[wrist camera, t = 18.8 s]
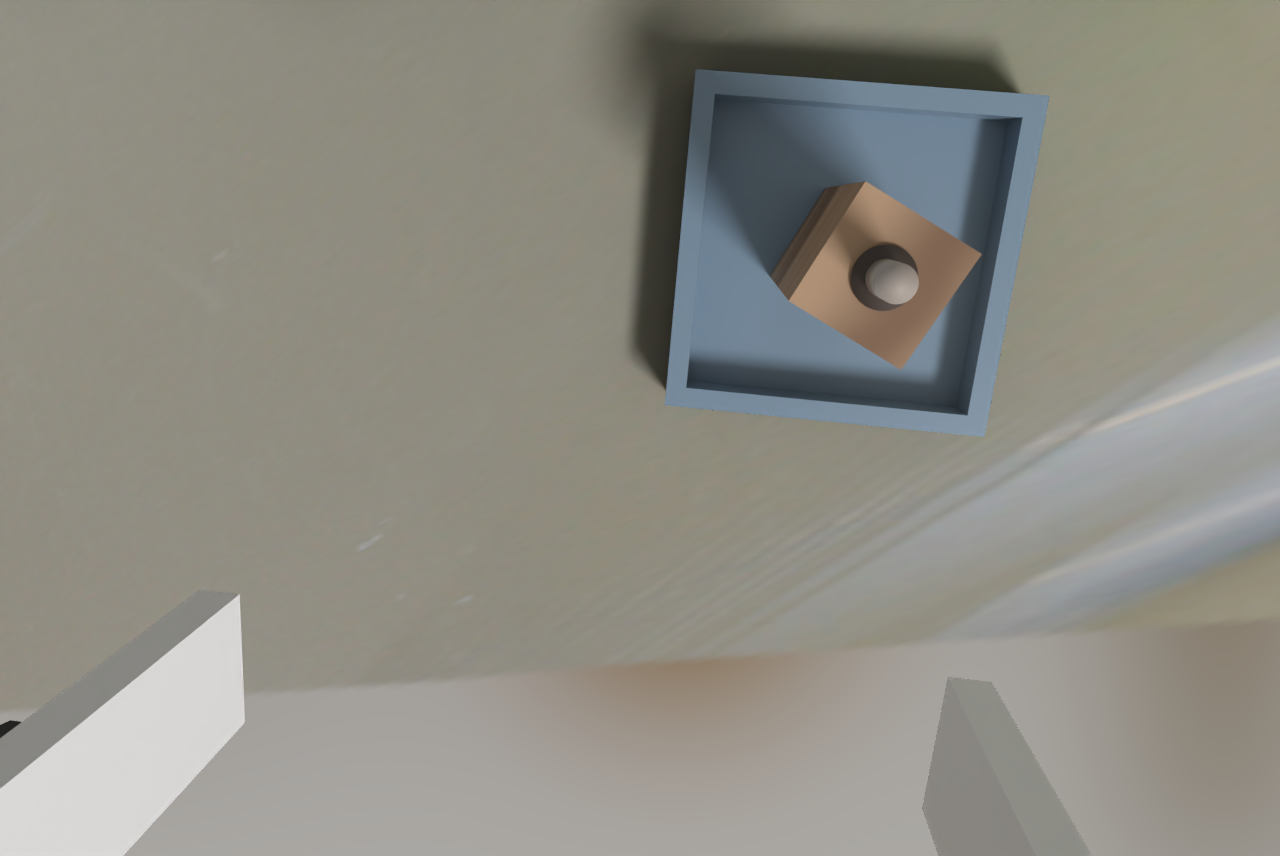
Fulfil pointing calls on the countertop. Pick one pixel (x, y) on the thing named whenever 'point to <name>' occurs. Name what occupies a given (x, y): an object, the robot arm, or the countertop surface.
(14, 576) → the countertop surface
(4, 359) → the countertop surface
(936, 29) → the countertop surface
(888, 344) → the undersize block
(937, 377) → the tray
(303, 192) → the countertop surface
